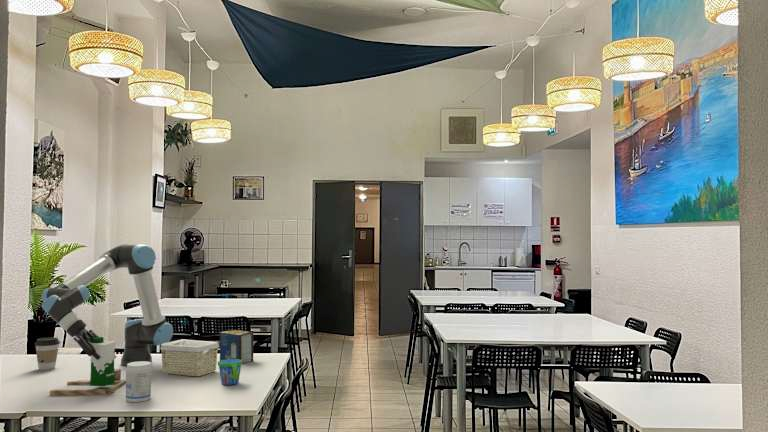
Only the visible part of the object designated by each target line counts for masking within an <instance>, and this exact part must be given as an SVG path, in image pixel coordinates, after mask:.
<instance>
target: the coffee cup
mask: <svg viewBox="0 0 768 432" xmlns="http://www.w3.org/2000/svg"><path fill="white" fill-rule="evenodd" d="M60 344H61V341H60V340H59V338H58V337H41V338H40V337H39V338H37V339H36V342H34V346H35V352H36V359H37V360H36V361H37V367H38V370H39V371H51V370H54V369H56V366H57V365H56V364H57V359H58V353H59V347H60V346H59V345H60ZM50 369H51V370H50Z"/></svg>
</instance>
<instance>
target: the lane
mask: <svg viewBox="0 0 768 432" xmlns="http://www.w3.org/2000/svg"><path fill="white" fill-rule="evenodd" d="M66 384H67V385H66V386H85V385H86V386H90V381H78V380H73V381H72V380H70V381H67V382H66ZM111 385H113V386H112V387H109V388H108V389H107V388H105V389H102V388H101V389H100V388H99V389H95V388H94V389H90V388H89V389H51V390H49V396H52V397H53V396H54V397H55V396H60V397H61V396H111V395H113V394H115V391H117V390H119V389H120V388H121V387H122V386H125V385H126V380H124V381H115V383H112V384H111ZM106 394H107V395H106Z"/></svg>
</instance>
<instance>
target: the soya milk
mask: <svg viewBox="0 0 768 432" xmlns="http://www.w3.org/2000/svg"><path fill="white" fill-rule="evenodd" d="M103 340H104V336H99V337H95V338H93V343H91V344H92V345H93V347H94V349H95V350H96V351H98V352H99V353H100V354H101V355H102V356H103V357H104V358H105V359H106V360H107V361H108V362H107V363H106V364H105V365H104V366H102V365H101V364H100V363H99V362H98V361H97V360H96V359H95V358H94V357H93V356H92V355H91V356H90V376H89V377H90V379H89V380H90V385H89V386H91V387H106V386H109V385H113V384H112V383H115V379H114V369H115V359H114V354H115V351H116V344H117V341H113V340H112V341H111V340H104V341H103ZM96 351H95V352H96Z"/></svg>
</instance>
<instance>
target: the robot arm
mask: <svg viewBox="0 0 768 432" xmlns="http://www.w3.org/2000/svg"><path fill="white" fill-rule="evenodd" d="M156 260H157V256H156V252H155V250H154V249H153V247H151V246H149V245H147V244H141V243H139V244H128V243H127V244H121V245H118V246H115V247H113V248H112V249H110V250H108V251H106V252H104V253H103V254H102V255H101V254H100V256H99V259H98V260H96V261H94V262H93V263H91V264H89V265H88V266H86V267H84V268H83V269H81V270H80V271H78V272H77V273H75V274H73V275H72V276H70V277H69V278H67V279H66V280H64V281H62V282H61V283H60V284H57V285H56V286H55V287H47V288H45V289H44V290H43V291H42V293H41V300H42V303H41V308H42V309H43V311H45V313H46V315H48V316H49V317H50V318H51V319H52V320H53V321H55V322H56V323H57V324H58V325H59V326H60V327H59V328H61V329H63V330H64V331H66V333H67V335H69V336H70V337H71V338H73V341H75V342H76V343H77V344H78V345H79V347H80V348H81V349H82V350H83V352H84V353H85V354H86V356H88V357H90V358H91V355H92V356H93V357H94V358H95V359H96V360H97V361H98V362H99V363H100V364H101V365H102V366H104V365H105V364H106V363H107V362H108V361H107V360H106V359H105V358H104V357H103V356H102V355H101V354H100V353H99V352H98V351H96V350H95V349H94V347H93V345H92V344H91V343H93V338H95V337H100V336H99V335H98V334H97V333H95V332H94V331H93V329H89V330H87V329H86V327H87V324H86V323H85V321H83V320H82V319H80V317H79V315H77V314H76V313H75V312H74V311H73V310H74V309H75V308H77V307H79V306H81V305H82V304H85V302H86V301H88V300H89V299H90V297H91V293H90V291H89V289H88V288H87V286H89V285H90V284H92V283H93V282H95V281H96V280H98V279H99V278H101V277H103V275H105V274H107V273H108V272H109V273H113V272H114V271H115V270H117V269H122V268H123V269H125V268H127V270H128V274H129V275H130V276H132V277H133V280H134V285H135V289H136V292H137V297H138V300H139V305H140V310H141V313H142V317H143V318H138V319H132V320H131V319H130V320H127V321H125V324H124V326H125V327H124V351H123V353H122V356H121V360H120V365H121V366H124V367H125V366H126V367H127V364H128V363H131V362H138V361H147V362H151V364H152V362H153V357H152V354H151V351H150V348H149V347H150V346H149V345H151V346H161V344H163V343H168V342H171V340H172V337H173V334H174V327H173V325H172V324H171V323H169V322H167V320H166V316H165V315H164V314H162V313H161V307H160V303H159V300H158V299H159V298H158V294H157V292H156V286H155V283H154V279H153V275H152V274H153V273H152V271H153V269H154V265H155V263H156ZM103 341H105V340H104V339H103ZM95 351H96V352H95ZM116 358H118V355H116V354H115V353H114V360H116Z"/></svg>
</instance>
